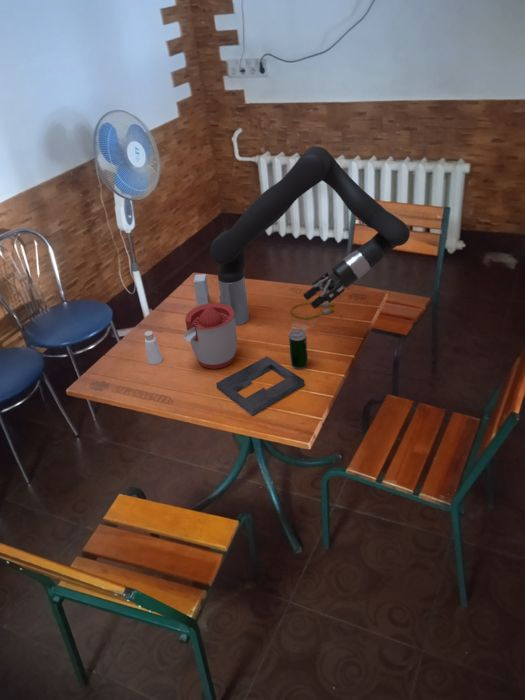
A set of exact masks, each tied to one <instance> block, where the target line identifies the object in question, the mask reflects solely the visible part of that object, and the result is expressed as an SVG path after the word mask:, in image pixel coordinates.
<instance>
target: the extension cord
mask: <svg viewBox="0 0 525 700" xmlns="http://www.w3.org/2000/svg"><path fill="white" fill-rule="evenodd" d="M300 305H301V306H305V305H311V302H304V303H299V304H295V306H292V308H290V315H291V316H292V317H294V318H296V319H299V320H304V321H307V320H313V319H316V318H317V317H319V316H321V315H323V316H324V315H329V314H331V313H334V308H333V307H334V302H333V301H331V302H328V301H327V302H324V303H322V304H321V305H320V306H318V307H317V308H319V309H320V311H319V313H318V314H316V315H313V316H309V317H302V316H298V315H296V314H294V313H293V310H294V309H295V308H298V307H300ZM297 306H298V307H297ZM322 307H323V308H326V309H325V310H323V311H322Z"/></svg>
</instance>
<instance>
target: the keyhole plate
mask: <svg viewBox="0 0 525 700" xmlns="http://www.w3.org/2000/svg"><path fill="white" fill-rule="evenodd" d="M269 371H273V372H274V373H276V374H277V375H279V376H280V377H282V378H283V380H281V381H279V382H277V383H276V384H273V385H272V386H270V387H268V388H265V387H262V388H260V389H259V390H256V391H255V392H253V393H252V394H250V395H247V396H246V397H244V396H243V395H242V394H240V393H239V391H241V390H242V389H244V388H247V387H248V386H250V385H251V384H252V381H253V380H255V379H257V378H259V377H261V376H262V375H264V374H266V373H267V372H269ZM215 385H216V389H217V390H219V391H220V392H221V393H222V394H224V395H225V396H226V397H228V398H229V399H230V401H233V402H234V403H235V404H237V405H238V406H239V407H240V408H242V410H245V412H247V413H248V414H249V415H250V416H252V417H254V416H255V415H257V414H259V413H260V412H262V411H263V410H265V409H268V408H269V407H271V406H272V405H274V404H275V403H277V402H278V401H280V400H282V399H284V398H286V397H287V396H288V395H291V394H292V393H294V392H296V391H297V390H299V389H301V388H302V387H304V386H305V379H304V378H302V377H301V376H299V375H297V374H296V373H294V372H292V371H291V370H289V369H288V368H286V367H285V366H283V365H282V364H280V362H279V363H278V362H277V361H276V360H274V359H272V358H271V357H270V356H265V357H263V358H261V359H259V360H257V361H255V362H253V363H251V364H248V366H246V367H244V368H242V369H240V370H237V372H234V373H233V374H231V375H229V376H226V377H225V378H223V379H221V380H220V381H217V382H215Z"/></svg>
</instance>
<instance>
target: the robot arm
mask: <svg viewBox="0 0 525 700" xmlns="http://www.w3.org/2000/svg"><path fill="white" fill-rule="evenodd" d="M321 182H323V183H325V184H326V185H328V186H329V187H330V188H331V189H332V190H333V191H334V192H335V193H336V194H337V195H338V197H339V198H340V199H341V200H342V202H343V203H344V204H345V206H346V208H347V209H348V211H350V212H351V213H352V215H354V216H355V217H356V218H357V219H358V220H360V221H361V222H362V223H363V224H364V225H366V227H368V228H370V229H373V230H374V231H376V232H377V233H376V234H375V235H374V236H372V238H371V239H369V240H368V241H366V242H365V243H364V244H362V245H361V246H360V247H358V248H357V249H356V250H354V251H353V252H351V253H349V254H348V255H347V256H345V257H344V258H343V259H341V260H340V261H339V262H338V263H336V264H335V265H334V266H333V267H332V268H331V270H332V274H330V273H329V272H328V271H327V272H325V273H324V274H323V275H321V276H320V277H318V278H317V279H316V280H314V281H313V282H312V283H311V284H312V287H311V288H310V289H308V290H307V291H305V292H304V294H303V298H304V299H305V300H306V301H309V300H310V299H311V298H313V297H314V296H315V295H317V293H320V292H322V293H321V295H319V296H317V297H316V298H315V299H314V300H312V301H311V302H310V303H311V304H310V305H311V307H312V308H313V309H314V310H315V309H317V308H319V307H321V306H320V305H322V304H323V303H327V302H329V303H331V302H333V301H334V300H335V299H337V298H338V296H340V295H342V293H344V292H345V290H346V289H345V288H349V287H350V286H352V285H353V284H354V283H355V282H356V281H358V280H359V279H360V278H361V277H363V276H364V275H365V274H366V273H367V272H369V271H370V270H371V269H372V268H374V267H375V266H376V265H377V264H378V263H380V262H381V261H382V260H383V258H384V257H385V255H386V254H389V253H390V252H391V251H392V250H393V249H395V248H396V247H400V246H402V245H405V244H406V243H407V242H408V240H409V239H410V235H411V231H410V229H409V227H408V225H407V224H406V223H405V222H403V220H401V219H400V218H398V217H397V216H396V215H394V214H393V213H391V212H389V211H388V210H386V209H385V208H384V207H383V206H382V205H381V204H380V203H379V202H378V201H377V200H375V199H374V198H373V197H372V196H370V194H368V193H367V192H366V191H365V190H364V189H363V188H362V187H360V185H358V183H356V181H354V179H353V178H352V177H351V176H350V175H349V174H348V173H347V172H346V170H344V168H342V167H341V165H340V164H339V163H338V161H337V160H336V159H335V157H333V155H332V154H331V153H330V152H329V150H327V149H325V148H324V147H321V146H316V145H315V146H312V147H310V148H308V149H307V150H306V151H305V152H304V153H302V154H301V155H300V157H299V158H298V160H297V161H296V163H294V165H293V166H292V167H291V168H290V170H289V171H288V172H287V173H286V174H285V176H284V177H282V178H281V179H280V180H279V181H278V182H276V183H275V184H274V185H272V186H271V187H269V188H268V189H266V190H265V191H264V192H262V193H261V194H260V195H258V197H257V198H255V200H254V201H253V202H252V203H251V204H250V205H248V207H247V208H246V210H245V211H244V212H243V213H242V215H241V216H240V217H239V218H238V219H237V221H236V222H235V223H234V224H233V226H232V227H230V228H229V229H228V230H224V231H221V233H220V234H218V235H217V237H216V238H215V239H214V240H213V241H212V243H211V245H210V247H209V255H210V257H211V259H212V260H213V261H214V262H215V263H216V264H218V268H217V275H216V276H217V281H218V286H219V287H218V288H219V292H220V293H219V294H220V295H219V301H220V304H225V305H228V306H230V307H231V308H232V309H233V310H234V313H235V314H234V319H235V326H241V325H244V324H246V323H248V321H249V320H250V312H249V304H248V295H247V294H248V293H247V287H246V279H245V266H246V260H245V247H246V246H247V245H248V244H250V243H251V242H252V241H253V240H254V239H256V238H258V237H259V236H260V235H262V234H263V233H264V232H266V231H267V230H268V229H269V228H270V227H272V225H274V224H275V223H276V222H278V221H279V219H281V218H282V217H283V216H284V215H285V214H286V212H288V211H289V209H290V208H291V207H292V206H293V204H294V203H295V201H296V200H298V199H299V198H300V197H301V196H302V195H304V194H305V193H307V192H308V191H309V190H311V189H312V188H313V187H315V186H316V185H318V184H319V183H321ZM296 202H297V201H296ZM343 286H344V287H343ZM318 306H319V307H318Z"/></svg>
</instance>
